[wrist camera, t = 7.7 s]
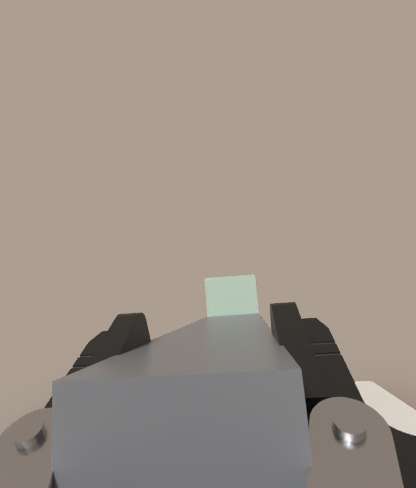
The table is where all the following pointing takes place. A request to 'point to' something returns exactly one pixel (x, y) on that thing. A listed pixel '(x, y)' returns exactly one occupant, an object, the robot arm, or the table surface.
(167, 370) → the bar
